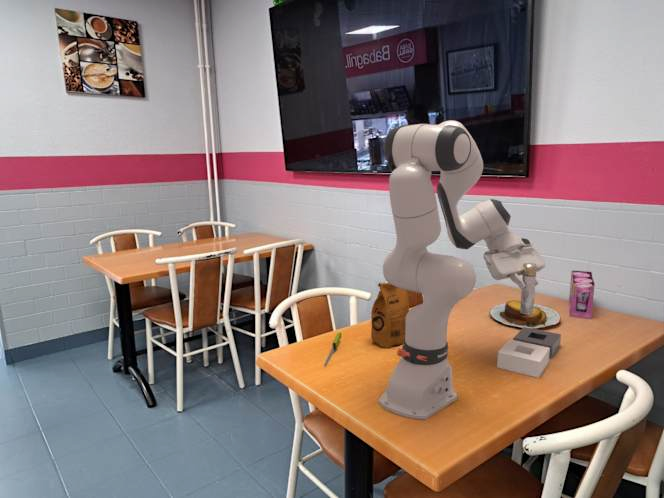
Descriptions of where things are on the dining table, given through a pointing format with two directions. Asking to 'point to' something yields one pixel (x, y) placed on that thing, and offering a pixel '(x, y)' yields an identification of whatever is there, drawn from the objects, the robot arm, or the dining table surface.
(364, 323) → the dining table surface
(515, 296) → the dining table surface
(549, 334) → the socket block
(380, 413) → the dining table surface
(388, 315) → the coffee package
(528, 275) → the shiny cylindrical peg
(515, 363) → the rack block
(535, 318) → the food on plate
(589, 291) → the gum box
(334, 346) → the kitchen knife
